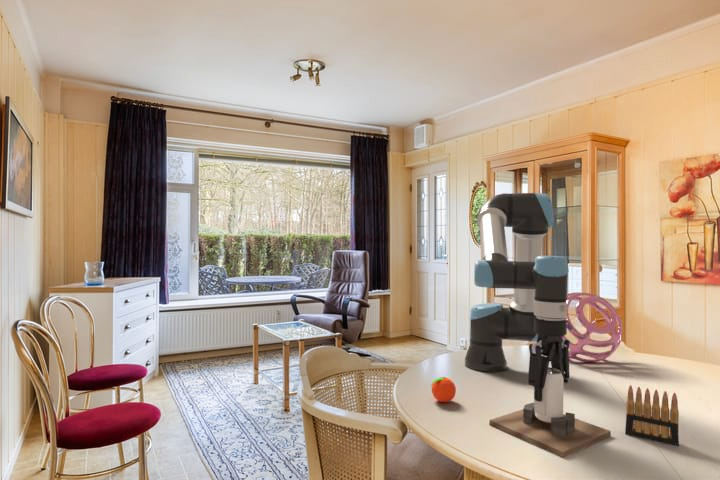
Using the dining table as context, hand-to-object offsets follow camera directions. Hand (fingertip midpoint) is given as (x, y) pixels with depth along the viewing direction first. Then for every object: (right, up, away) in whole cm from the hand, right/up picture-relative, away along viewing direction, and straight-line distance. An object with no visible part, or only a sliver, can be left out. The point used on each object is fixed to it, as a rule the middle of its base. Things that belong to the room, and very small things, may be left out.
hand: (548, 410), depth 109 cm
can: (0, -2, 0) cm, 2 cm away
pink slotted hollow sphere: (+43, -6, +67) cm, 80 cm away
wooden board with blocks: (0, -5, 0) cm, 5 cm away
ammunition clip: (+23, -5, -4) cm, 24 cm away
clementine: (-23, -5, +18) cm, 30 cm away
